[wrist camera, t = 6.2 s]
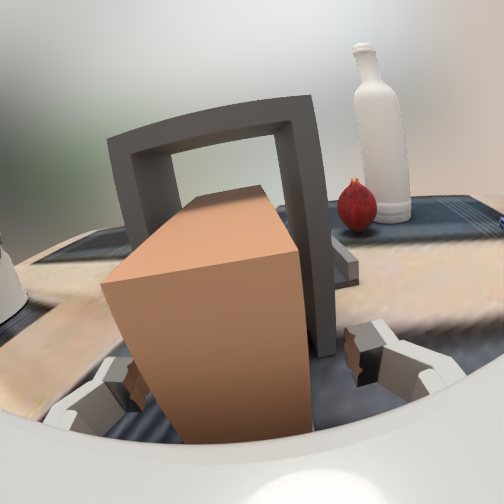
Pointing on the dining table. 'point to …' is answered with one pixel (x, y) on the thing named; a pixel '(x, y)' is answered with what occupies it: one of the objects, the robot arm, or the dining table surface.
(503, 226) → the dish towel
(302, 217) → the tunnel
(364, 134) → the bottle
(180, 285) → the orange rectangular block
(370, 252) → the dining table surface
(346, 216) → the onion
